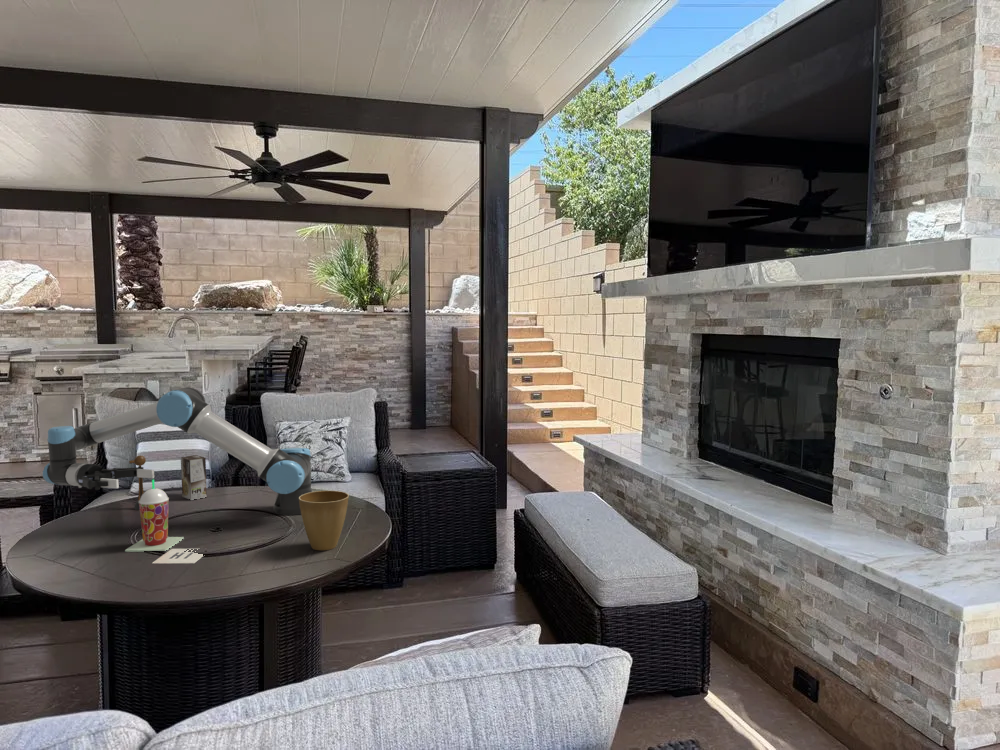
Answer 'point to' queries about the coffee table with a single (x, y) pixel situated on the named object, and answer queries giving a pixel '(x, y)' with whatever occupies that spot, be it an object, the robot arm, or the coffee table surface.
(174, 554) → the tile
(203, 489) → the coffee box
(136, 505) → the wooden tabletop sculpture
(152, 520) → the smoothie
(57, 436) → the robot arm
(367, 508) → the coffee table surface
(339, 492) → the plant pot
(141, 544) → the coaster
